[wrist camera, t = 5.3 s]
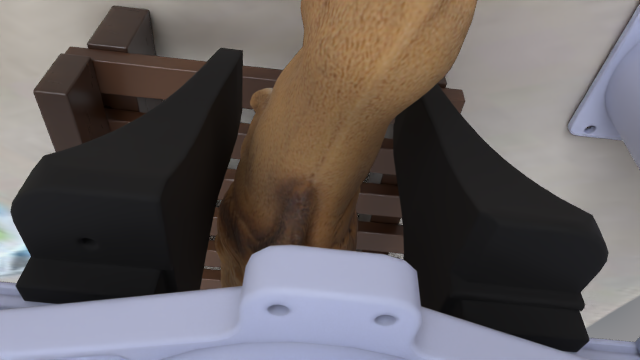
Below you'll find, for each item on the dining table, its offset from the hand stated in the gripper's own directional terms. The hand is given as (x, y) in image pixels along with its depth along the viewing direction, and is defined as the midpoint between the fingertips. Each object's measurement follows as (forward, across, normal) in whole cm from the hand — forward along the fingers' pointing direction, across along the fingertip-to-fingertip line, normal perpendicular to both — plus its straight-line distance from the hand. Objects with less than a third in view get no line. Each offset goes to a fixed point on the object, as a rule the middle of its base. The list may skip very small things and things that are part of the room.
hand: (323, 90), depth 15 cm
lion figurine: (+2, -1, 0) cm, 2 cm away
